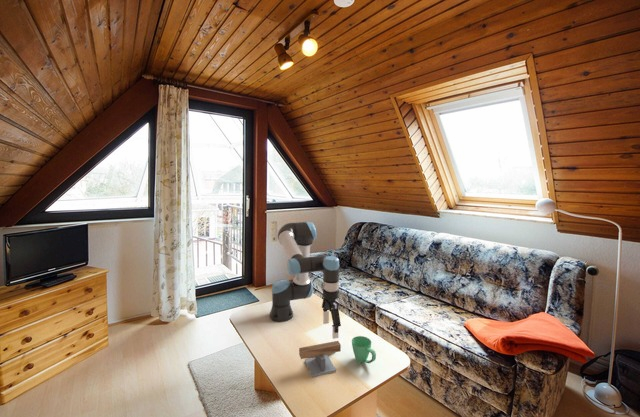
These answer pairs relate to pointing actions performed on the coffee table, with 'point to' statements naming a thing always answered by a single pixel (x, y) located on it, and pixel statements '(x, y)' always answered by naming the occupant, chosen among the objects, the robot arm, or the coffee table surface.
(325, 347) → the plank
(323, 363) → the fulcrum
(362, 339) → the mug
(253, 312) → the coffee table surface
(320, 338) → the coffee table surface
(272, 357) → the coffee table surface
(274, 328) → the coffee table surface
